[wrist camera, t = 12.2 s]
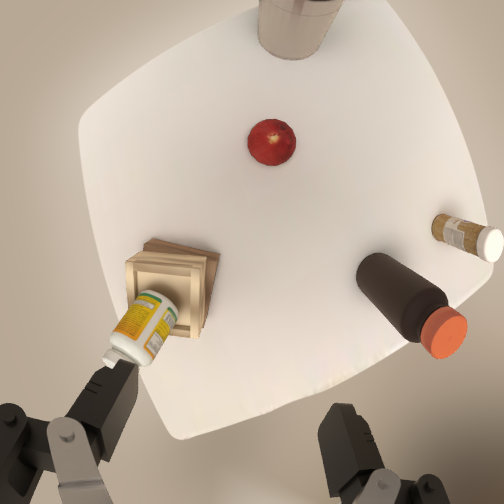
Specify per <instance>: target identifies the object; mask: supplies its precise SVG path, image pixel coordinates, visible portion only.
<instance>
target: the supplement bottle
mask: <svg viewBox="0 0 504 504" xmlns="http://www.w3.org/2000/svg"><path fill="white" fill-rule="evenodd" d="M178 317H179V313H178V310H177V308H176V306H175V305H174V304H173V303H172V302H171V301H170V300H169V299H168V298H167V297H165V296H164V295H162V294H160V293H157V292H155V291H152V290H144V291H142V292H141V293H140V294H139V296H138V297H137V298H136V300H135V301H134V302H133V304H132V305H131V307H130V308H129V309H128V311H127V312H126V314H125V315H124V316H123V318H122V319H121V321H120V322H119V324H118V325H117V326H116V328H115V330H114V331H113V332H112V334H111V336H110V343H111V345H112V347H113V348H112V349H109V350H107V351H106V353H105V355H104V356H103V361H104V363H105V364H107V366H109V367H110V368H112V369H113V367H114V366H115V364H116V363H117V361H118V360H119V359H123V360H126V361H129V362H132V363H135V364H138V373H139V366H142V367H145V366H148V365H150V364H151V363H152V362H153V360H154V358H155V357H156V355H157V353H158V351H159V350H160V348H161V346H162V345H163V343H164V341H165V340H166V338H167V336H168V335H169V333H170V331H171V330H172V328H173V327H174V325H175V323H176V322H177V320H178Z"/></svg>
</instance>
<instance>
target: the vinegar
mask: <svg viewBox="0 0 504 504" xmlns="http://www.w3.org/2000/svg"><path fill="white" fill-rule="evenodd" d="M357 283H358V287H359V288H360V289H361V291H362V292H363V293H364V294H365V295H366V296H367V297H368V299H369V300H370V301H371V302H372V303H373V304H374V305H375V306H376V307H377V308H378V309H379V311H380V312H381V313H382V314H383V315H384V316H385V317H386V318H387V319H388V320H389V322H390V323H391V324H392V325H393V326H394V327H395V328H396V329H397V331H398V332H399V333H400V334H401V335H402V336H403V337H404V338H405V339H406V340H408V341H409V342H415V343H419V342H421V344H422V345H423V346H424V347H425V349H426V350H428V352H429V353H430V354H431V355H432V356H433V357H434V358H436V359H443V358H446V357H448V356H450V355H451V354H453V353H454V352H455V351H456V350H457V349H458V348H459V347H460V345H461V344H462V342H463V340H464V338H465V336H466V332H467V322H466V319H465V317H464V316H462V315H461V314H460V313H458V312H457V311H456V310H454V309H453V308H452V307H449V306H448V299H447V297H446V294H445V293H444V292H443V291H442V290H441V289H440V288H439V287H437V286H436V285H434V284H432V283H431V282H429V281H428V280H426V279H425V278H423V277H422V276H420V275H418V274H417V273H415V272H414V271H412V270H411V269H409V268H407V267H406V266H404V265H403V264H401V263H399V262H398V261H396V260H394V259H393V258H391V257H389V256H388V255H385V254H382V253H378V254H373V255H370V256H368V257H367V258H366V259H365V260H363V262H362V263H361V265H360V266H359V269H358V271H357Z"/></svg>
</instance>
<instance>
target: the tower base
mask: <svg viewBox="0 0 504 504" xmlns="http://www.w3.org/2000/svg"><path fill="white" fill-rule="evenodd" d="M143 251H148V252H159V253H170V254H182V255H193V256H204V257H207V261H206V284H205V317H204V322H203V326H202V328H204V324H205V321H206V318H207V313H208V308H209V303H210V299H211V294H212V289H213V284H214V279H215V275H216V270H217V265H218V261H219V256H220V254H216V253H212V252H207V251H203V250H199V249H195V248H191V247H186V246H182V245H178V244H174V243H170V242H165V241H161V240H157V239H151V240H150V241H148V242H147V243H145V244H144V247H143Z"/></svg>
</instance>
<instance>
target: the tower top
mask: <svg viewBox="0 0 504 504" xmlns="http://www.w3.org/2000/svg"><path fill="white" fill-rule="evenodd" d="M206 261H207V257H204V256H193V255H182V254H170V253H159V252H148V251H140V252H138V253H137V254H136V255H134V256H133V257H131V258H130V259H128V260H127V261H126V262H125V265H126V284H127V299H128V309H129V308H130V307H131V305H132V304H133V302H134V301H135V300H136V298H137V297H138V296H139V294H140V293H141V292H142V291H144V290H152V291H155V292H157V293H160V294H162V295H164V296H165V297H167V298H168V299H169V300H170V301H171V302H172V303H173V304H174V305H175V306H176V308H177V310H178V313H179V317H178V320H177V322H176V323H175V325H174V327H173V328H172V330H171V331H170V333H169V335H172V336H179V337H187V338H195V339H199V335H200V332H201V329H202V326H203V322H204V317H205V284H206Z"/></svg>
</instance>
